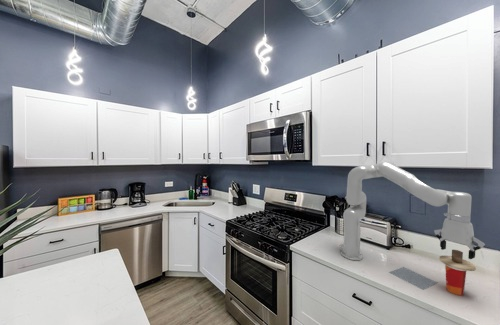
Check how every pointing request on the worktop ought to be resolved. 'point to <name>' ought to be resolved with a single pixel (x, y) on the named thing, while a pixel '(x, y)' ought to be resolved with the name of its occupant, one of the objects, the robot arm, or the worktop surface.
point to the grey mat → (413, 278)
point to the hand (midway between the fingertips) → (456, 253)
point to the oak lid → (457, 261)
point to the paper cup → (455, 280)
